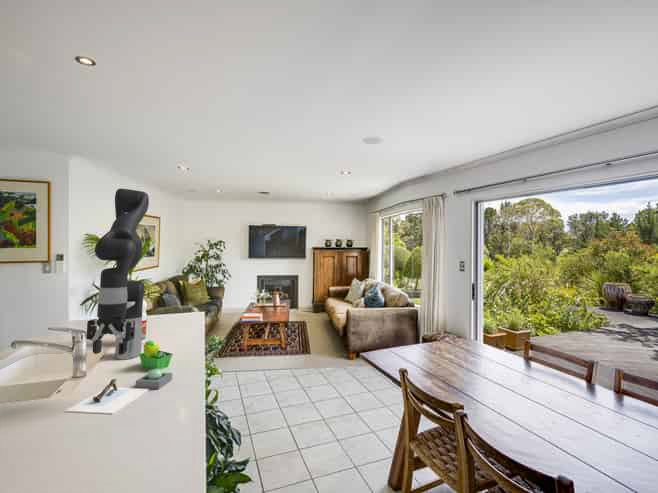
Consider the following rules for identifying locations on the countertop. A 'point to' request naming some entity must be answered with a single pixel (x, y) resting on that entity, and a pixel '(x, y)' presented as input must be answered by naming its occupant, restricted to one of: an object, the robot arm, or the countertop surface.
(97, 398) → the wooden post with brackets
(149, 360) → the fruit basket
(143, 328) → the fruit juice
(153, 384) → the button housing
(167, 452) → the countertop surface
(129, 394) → the paper sheet
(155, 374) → the button
